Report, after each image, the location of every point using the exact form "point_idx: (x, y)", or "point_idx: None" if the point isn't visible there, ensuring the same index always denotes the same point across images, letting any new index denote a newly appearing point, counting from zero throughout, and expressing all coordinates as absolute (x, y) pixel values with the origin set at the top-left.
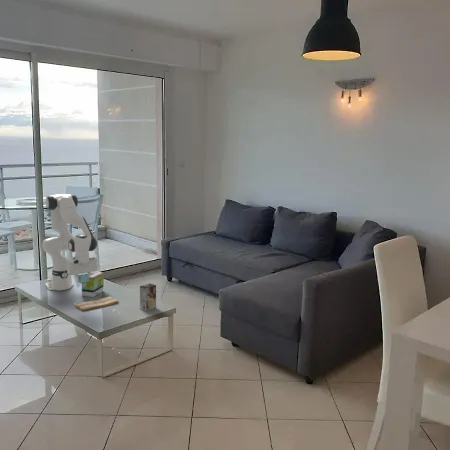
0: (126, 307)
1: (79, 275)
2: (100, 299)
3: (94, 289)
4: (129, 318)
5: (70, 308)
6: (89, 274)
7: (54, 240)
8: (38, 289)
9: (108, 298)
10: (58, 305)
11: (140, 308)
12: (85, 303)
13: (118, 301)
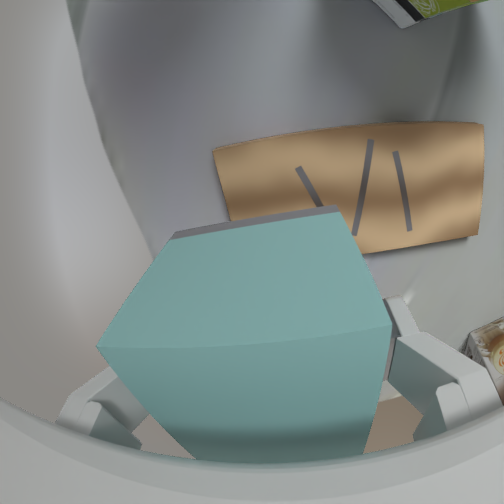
0: (454, 300)
1: (166, 423)
2: (419, 144)
3: (434, 15)
4: (382, 388)
5: (181, 176)
6: (424, 406)
7: None
8: None
9: (464, 157)
10: (120, 91)
11: (470, 336)
12: (293, 170)
13: (475, 233)
